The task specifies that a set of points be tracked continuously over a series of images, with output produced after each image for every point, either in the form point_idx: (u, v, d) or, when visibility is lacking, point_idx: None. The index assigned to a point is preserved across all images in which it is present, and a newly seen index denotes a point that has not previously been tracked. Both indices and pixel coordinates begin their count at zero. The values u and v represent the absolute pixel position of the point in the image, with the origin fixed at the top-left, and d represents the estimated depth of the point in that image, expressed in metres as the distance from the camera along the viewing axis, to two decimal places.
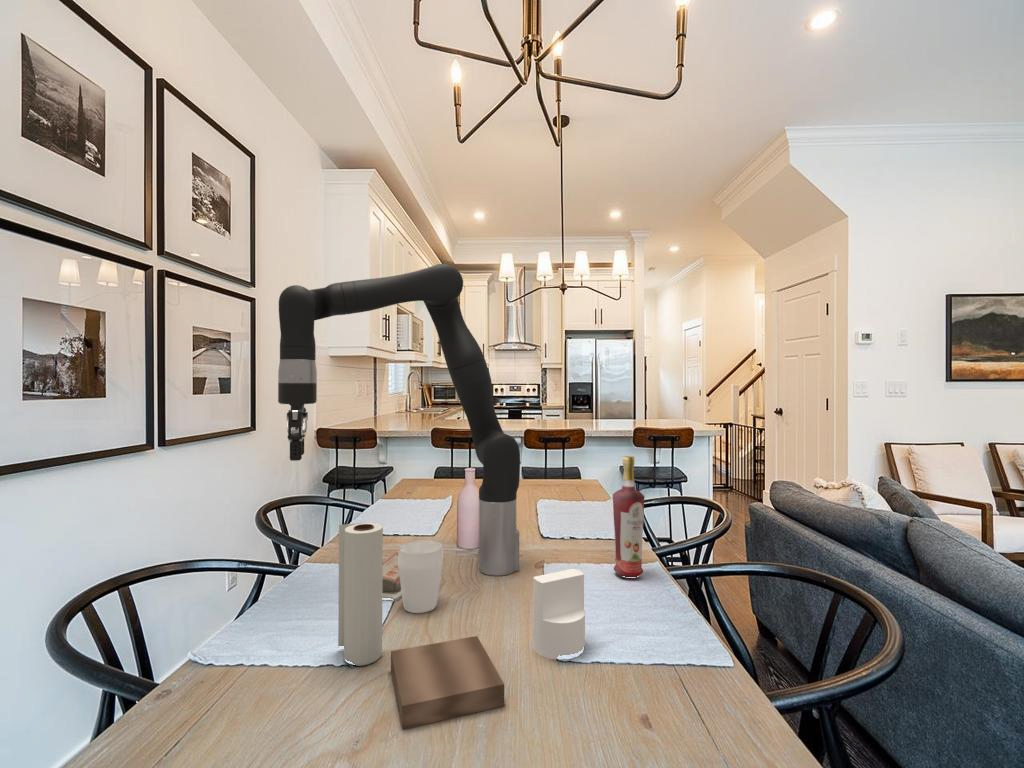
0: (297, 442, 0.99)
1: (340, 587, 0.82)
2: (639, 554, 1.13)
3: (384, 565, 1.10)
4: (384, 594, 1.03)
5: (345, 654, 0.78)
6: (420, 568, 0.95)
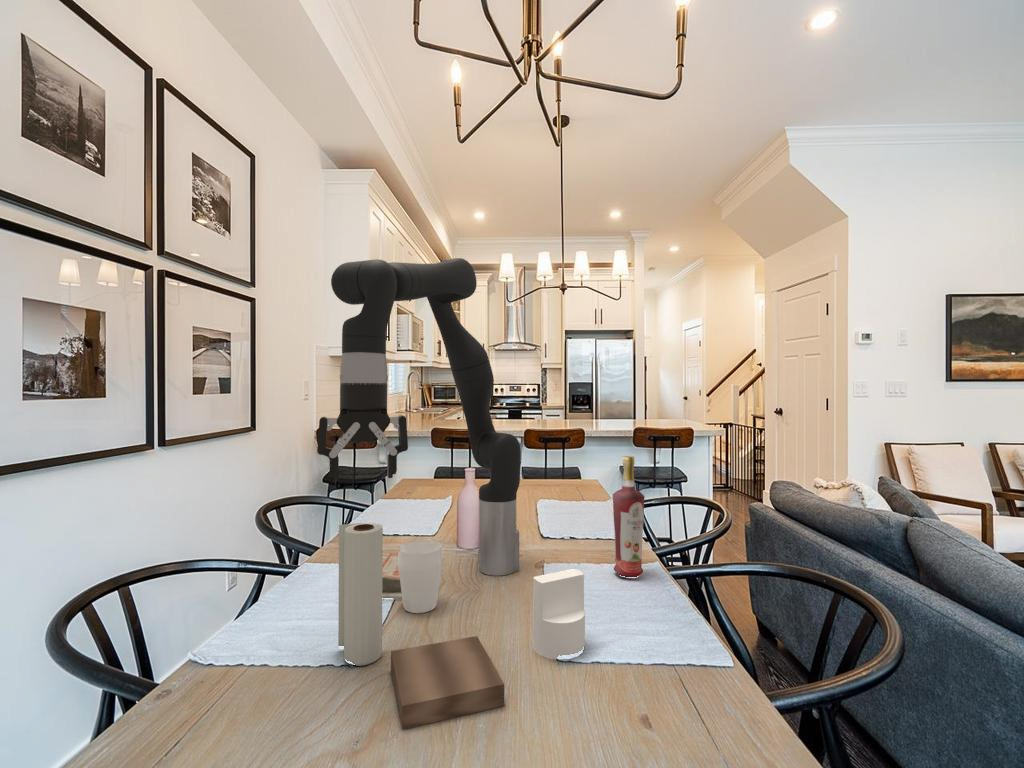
0: None
1: (340, 587, 0.82)
2: (639, 554, 1.13)
3: (386, 566, 1.10)
4: (393, 594, 1.03)
5: (345, 654, 0.78)
6: (420, 568, 0.95)
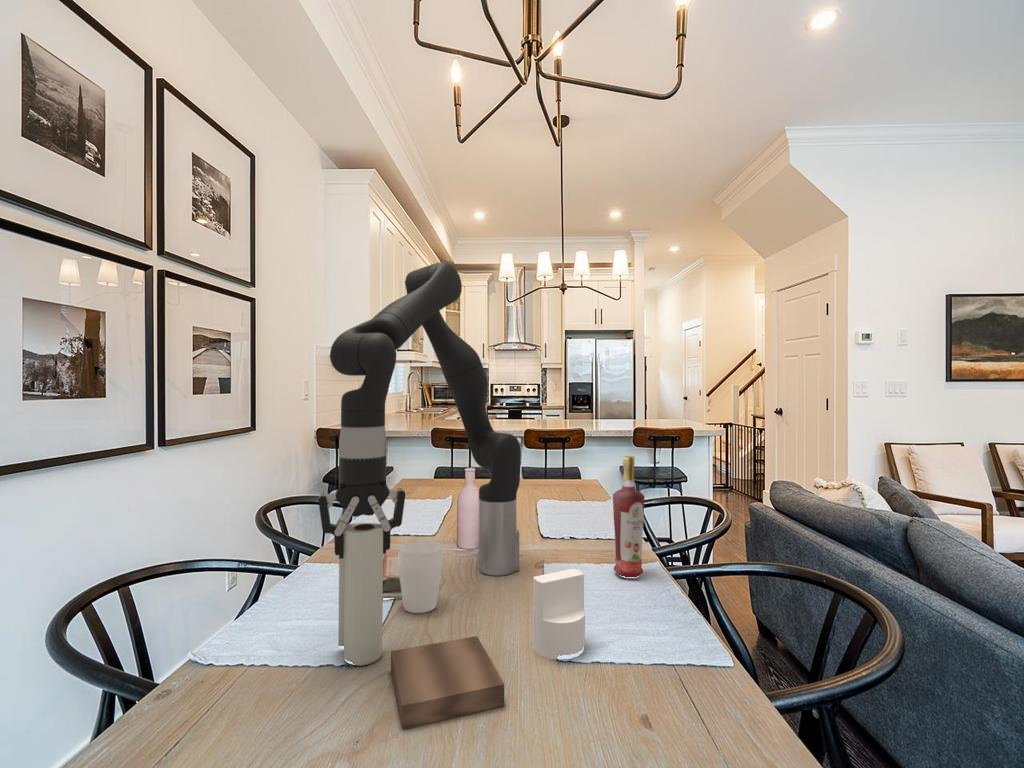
0: None
1: (340, 586, 0.82)
2: (639, 554, 1.13)
3: (388, 566, 1.09)
4: None
5: (345, 654, 0.78)
6: (420, 568, 0.95)
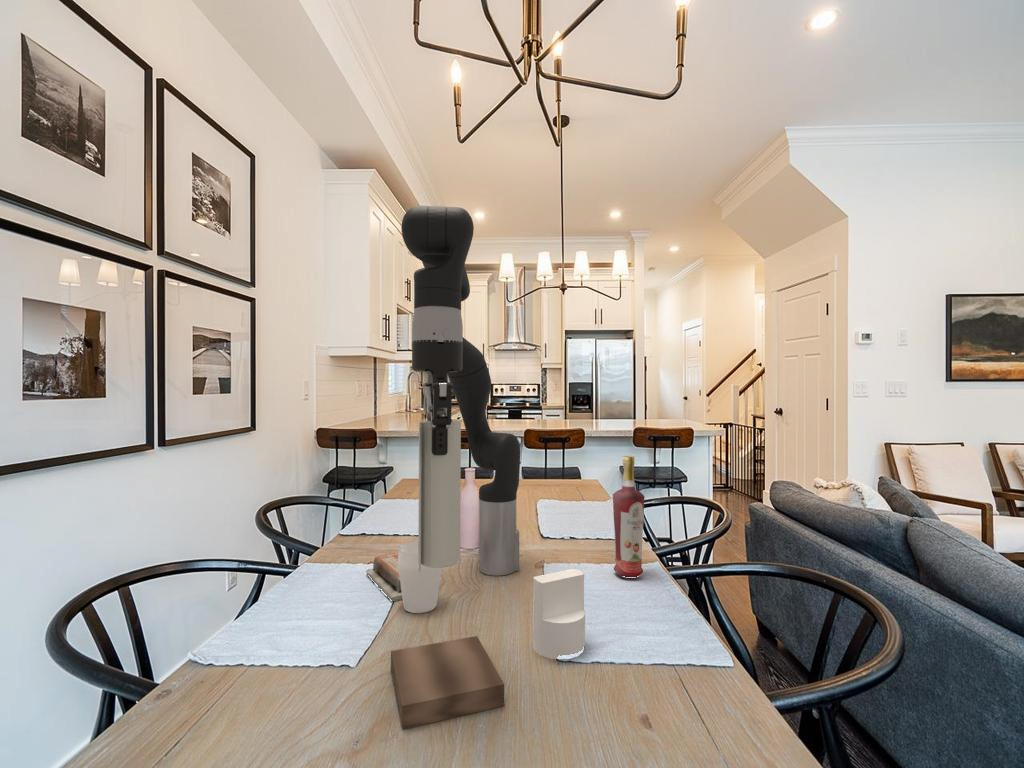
0: None
1: (420, 496, 0.69)
2: (639, 554, 1.13)
3: (393, 567, 1.09)
4: None
5: (449, 558, 0.71)
6: None
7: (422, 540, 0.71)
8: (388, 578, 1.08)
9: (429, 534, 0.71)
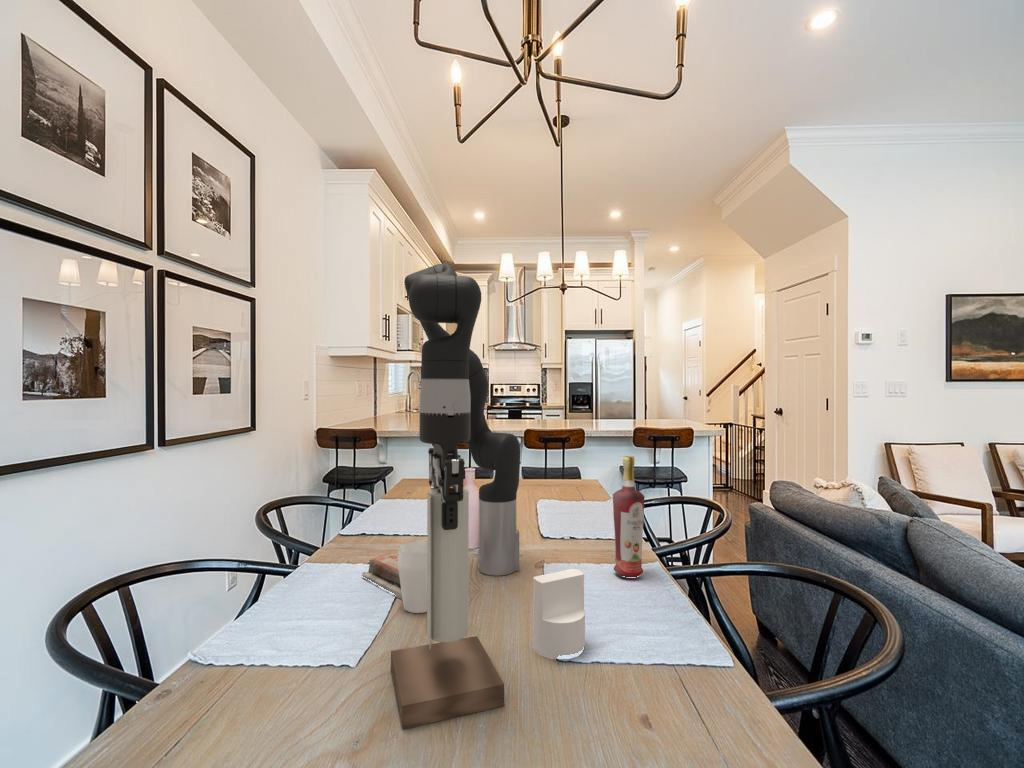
0: None
1: (430, 572, 0.68)
2: (639, 554, 1.13)
3: (397, 567, 1.09)
4: None
5: (459, 631, 0.70)
6: (420, 568, 0.95)
7: (431, 614, 0.71)
8: (392, 578, 1.08)
9: (439, 608, 0.70)
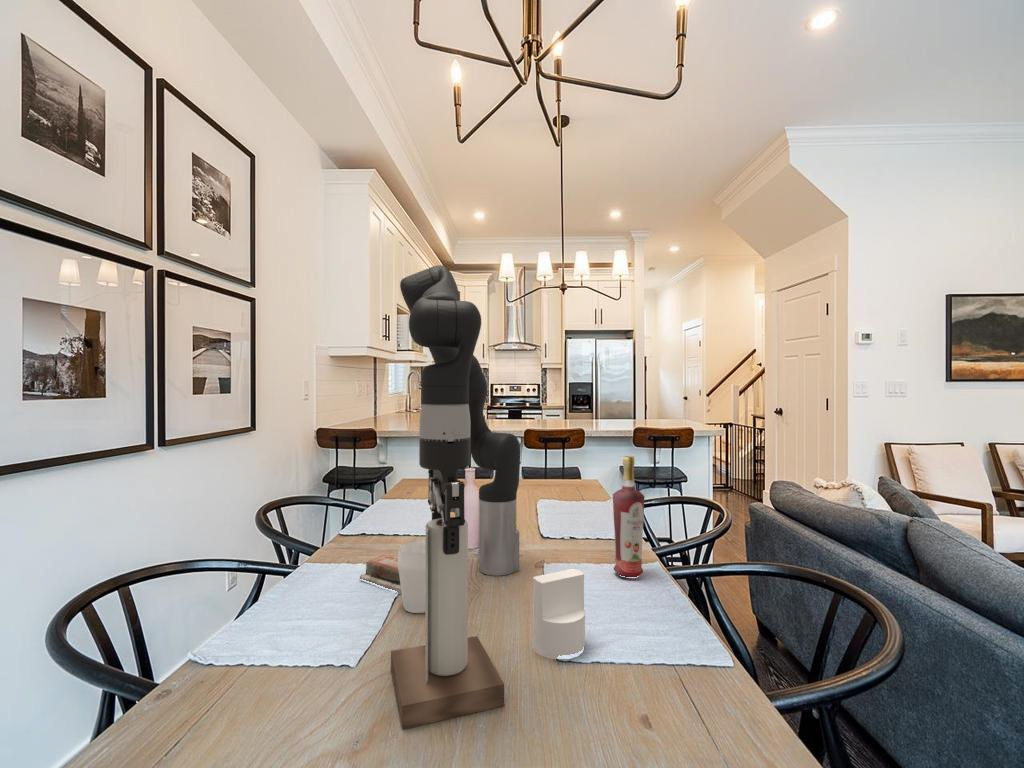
0: None
1: (427, 606, 0.68)
2: (639, 554, 1.13)
3: None
4: None
5: (456, 665, 0.70)
6: (420, 568, 0.95)
7: (429, 646, 0.71)
8: (396, 578, 1.08)
9: (436, 641, 0.70)
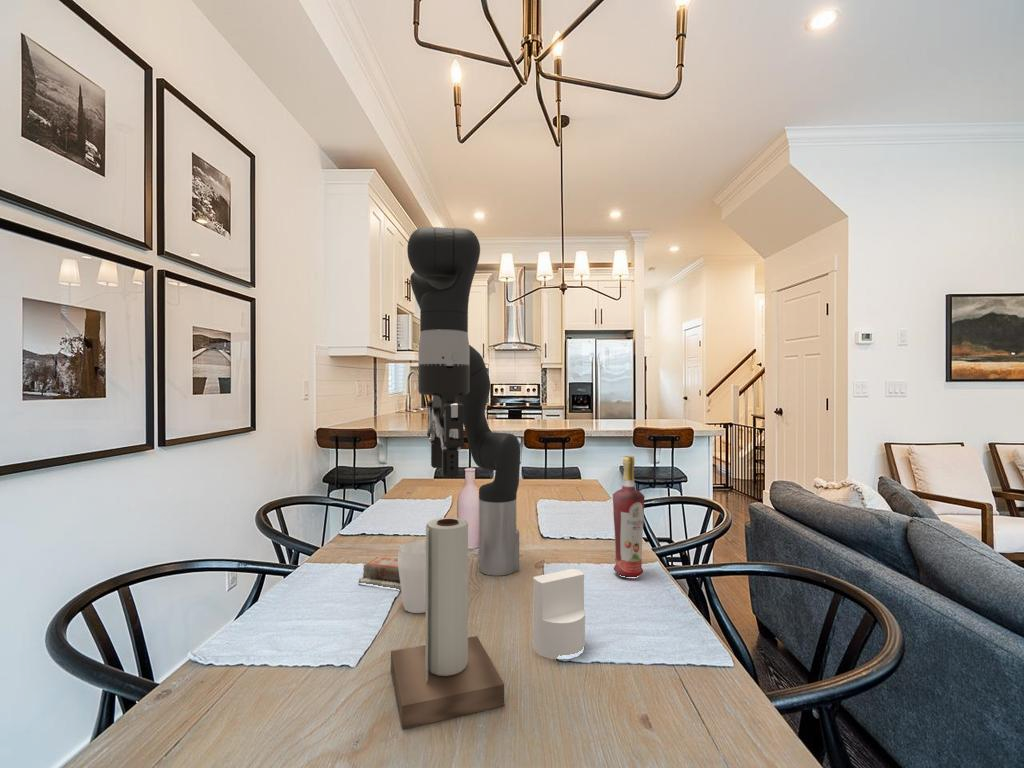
0: None
1: (427, 606, 0.68)
2: (639, 554, 1.13)
3: None
4: None
5: (457, 665, 0.70)
6: (420, 568, 0.95)
7: (429, 646, 0.71)
8: None
9: (436, 641, 0.70)
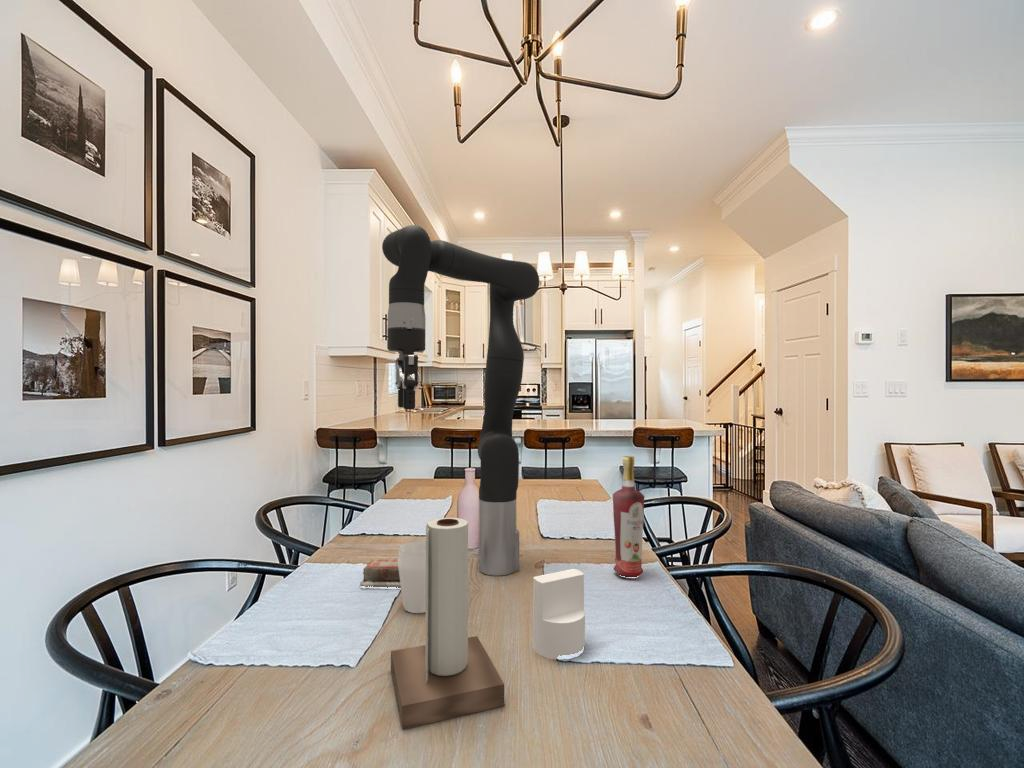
0: None
1: (427, 606, 0.68)
2: (639, 554, 1.13)
3: None
4: None
5: (457, 665, 0.70)
6: (420, 568, 0.95)
7: (429, 646, 0.71)
8: None
9: (436, 641, 0.70)
